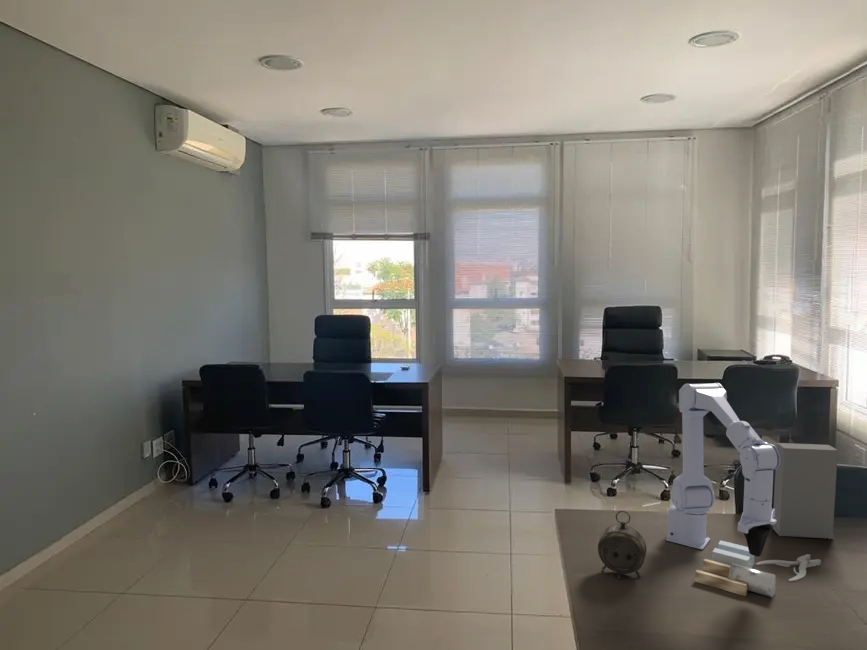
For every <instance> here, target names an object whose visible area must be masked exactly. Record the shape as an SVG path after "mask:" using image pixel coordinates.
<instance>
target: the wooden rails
mask: <svg viewBox="0 0 867 650" xmlns="http://www.w3.org/2000/svg"><path fill="white" fill-rule="evenodd" d="M702 561H703V562H702V564H703V565H702V567H703V568H702V570H700V569H696V570H695V573H694V574H695V575H694V582H695V583H699V584H702V585H705V586H709V587H713V588H716V589H720V590H723V591H727V592H728V593H732V594H737V595H740V596H742V597H743V596H744V597H746V596H747V594H748V590H747V583H743V582H740V581H736V580H733V579H729V578H728V576H729V569H730V565H727V564H723V563H719V562H715V561H712V559H707V558H703V560H702Z"/></svg>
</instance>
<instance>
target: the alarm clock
mask: <svg viewBox="0 0 867 650" xmlns="http://www.w3.org/2000/svg"><path fill="white" fill-rule="evenodd" d="M620 513H625V514H626V515H627V516H628V521H627V522H625V521H621V522H620V521H619V520H618V515H619V514H620ZM615 519H616V522H617V523H619V524H613V525H611V526H608V527H606V529H604V531H603V532H602V533H601V534H600V535H601V536H600V538H599V541H598V544H597V545H598V546H597V552H598V556H599V559H600V561H601V562H602V563H603V565H604V566H603V567H601V569H602V571H603V570H605V569H606V568H608V569H609V570H611V571H612V572H614V573H616V574H617V579H618V580H620V579H621V578H622V575H629V574H630V575H631V574H633V573H634V574H635V575H637V577H638V578H641V574H640V573H639V570H640V569H641V568H642V567H643V565H644V563H645V559H646V555H647V544H646V541H645V539H644V538H643V537H644V536H642V534H641V533H640V532H639V531H638V530H636V529H635V528H633V527H631V526H630V525H627V524H629V523H630V521H631V515H630V513H628V512H627V511H626V510H619V511H618V512H617V513H615Z"/></svg>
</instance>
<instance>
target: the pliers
mask: <svg viewBox="0 0 867 650" xmlns="http://www.w3.org/2000/svg"><path fill="white" fill-rule="evenodd" d="M821 562H822V561H821V559H819V558H815V559H811V554H805V555H801V556H799V557H797V559H796V560H795V561H792V560H785V559H783V560H782V559H767V560H761V561H758V562H756V563H755V565H756V566H757V567H758V566H762V565H775V566H776V565H777V566H778V567H779V566H781V567H787V568H790V567H791V566H794V565H795V566H799V565H800V566H799V567H798V571H799V572H797V570H796V567H793V573H794V574H795V576H793V577H792V578H789V579H787V582H789V583H792V582H796V581H797V582H798V581H800V580H802V579H804V578H805V577H806V575H807V568H811V567H812V566H813V567H817V566H820V564H822V563H821ZM816 565H817V566H816ZM813 567H812V568H813Z"/></svg>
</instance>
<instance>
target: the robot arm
mask: <svg viewBox="0 0 867 650" xmlns="http://www.w3.org/2000/svg"><path fill="white" fill-rule="evenodd" d="M727 399H728V395H727V390H726V389H725V388H724V386H723V385H722V384H721V383H720V382H714V383H711V382H710V383H685V384H683V385H682V386H681V387H680V389H679V390H678V406H679V407H678V408H679V412H680V413H681V417H682V419H681V420H682V422H681V423H682V424H681V425H682V473H681V474H679V475H677V477H675V478H674V479H673V480H672V488H671V492H670V499H671V502H672V504H671V505H670V507H669V510H668V514H667V527H666V529H667V530H666V532H667V533H666V539H665V540H666V541H668V542H669V543H670V542H671V543H675V544H680V545H682V546H687V547H690V548H695V549H698V550H704V548H705V547H706V545H708V543H709V542H710V541H711V538H710V537H708V536H707V515H708V514H707V513H709V512H710V509H711V508H712V507H713V506H714V505H715V502H716V501H715V500H716V497H715V496H716V495H715V491H714V488H713V482H712V480H711V479H709V477H707V476H706V475H705V474H704V473H705V472H704V470H705V467H704V466H705V465H704V460H705V459H704V456H705V455H704V417H705V416H706V415H707V414H708V413H709V412H712V414H714V416H715V417H716V418H717V419H718V420H719V422H721V424H722V425H723V426H724V427H725V428H726V432H725V434H726V437H727V438H728V439H729V441H730V443H731V444H732V445H733V446H734V448H735V449H736V450H737V452H738V453H739V462H740V464H741V468H742V470H741V472H742V476H743V477H744V483H743V486H744V487H743V506H742V507H743V508H742V510H743V512H742V513H741V517H740V520H739V521H738V522H737V532H741V533H743V534H744V537H745V540H746V546H747V547H748V549H749V553H750V554H751V555H754V557H757V558H758V557H760V556H762V553H763V551H764V548H765V544H766V542H767V538H768V537H769V535H770V534H771V532H772V530H773V525H774V524H776V523H777V520H775V519H773V518H774V517H775V509H773V507H772V504H773V491H774V490H773V487H774V486H773V485H774V470H776V469H777V468H778V467H779V465H780V455H779V452H778V450H777V446H775V445H774V444H772V443H768V442H767V441H764V440H762V438H761V437H760V435H759V434H758V433H757V432H756V431H755V429H754V428H753V427H752V426H751V425H750V423H749V422H747V421H745V420H740V419H739V417H738V415H737V414H736V412H735V411H734V410H733V407H732V406H731V405H730V403H729V401H728V400H727Z"/></svg>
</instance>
